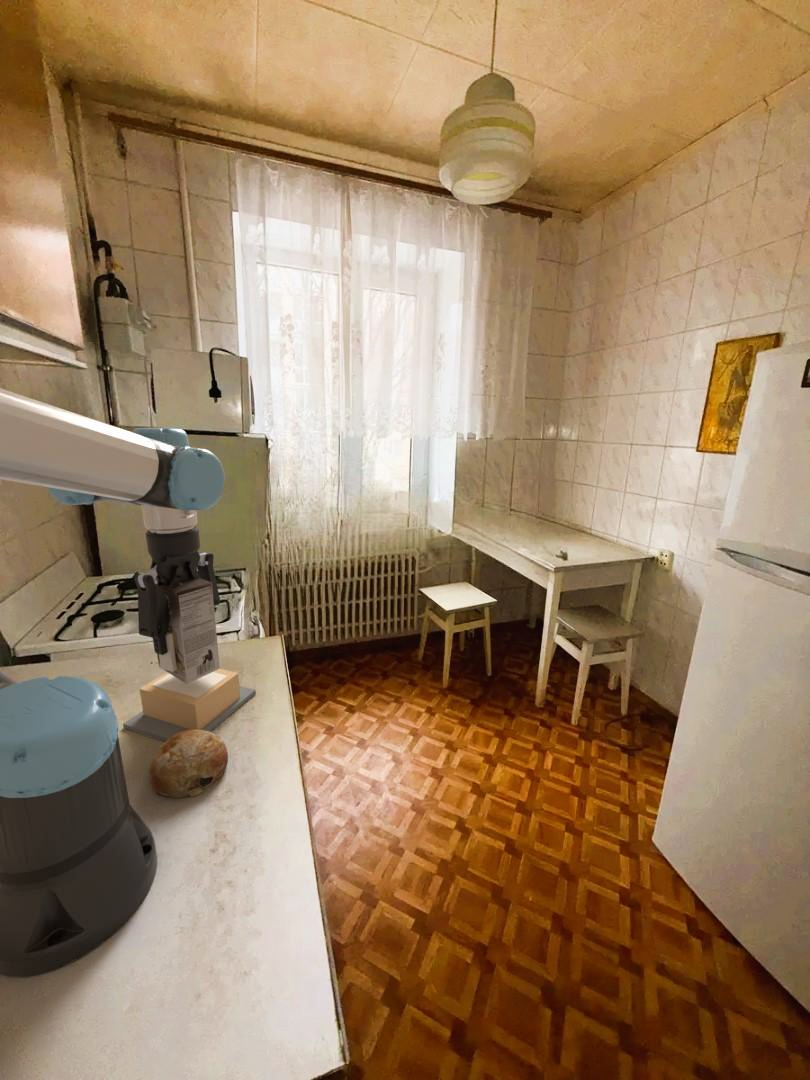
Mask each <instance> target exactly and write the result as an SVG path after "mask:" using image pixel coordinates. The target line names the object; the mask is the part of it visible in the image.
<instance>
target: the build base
mask: <svg viewBox="0 0 810 1080" xmlns="http://www.w3.org/2000/svg"><path fill="white" fill-rule="evenodd" d="M256 694H257V692H256V689H254V688H251V687H247V686H242V685H240V678H239V672H236V671H235V672H234V671H232V670H231V671H230V670H227V669H223V668H219V669H218V670H216V671H214V672H212V673H209V674H207V675H205V676H203V677H201V678H199V679H197V680H195V681H193V682H190V683H188V684H186V683H184V682H182V681H181V680H179V679H178V678H176V677H174V676H173V675H171V674H170V673H168V672H164V674H162V675H160V676H158V677H157V678H155V679H153V680H151V681H150V682H148V683H147V684H145V685H143V686H141V687H140V688H139V695H140V700H141V706H142V707H141V708H142V711H140V712H139V713H137V714H135V715H134V716H133V717H131V718H130V719H128V720H126V721H125V722H123V723H122V725H123V729H126V730H128V731H131V732H134V733H138V734H141V735H143V736H147V737H150V738H151V739H152V738H153V739H155V740H158V741H162V742H163V743H164V742H166V741H167V740H168V739H169V738H170V737H172V736H173V735H175V734H177V733H180V732H182V731H185V730H194V729H198V730H204V731H209V732H212V731H213V730H214V729H215V728H217V727H218V726H219V725H220V724H222V723H223V722H224V721H225V720H226V719H227V718H228V717H230V716H231V715H232V714H233V713H235V712H236V711H237V710H238V709H239V708H241V707H242V706H243V705H244V704H245V703H246V702H248V701H249V700H250V699H251V698H253V697H254V696H255V695H256Z"/></svg>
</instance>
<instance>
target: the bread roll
mask: <svg viewBox="0 0 810 1080" xmlns="http://www.w3.org/2000/svg"><path fill="white" fill-rule="evenodd" d="M228 753H229V752H228V749H227V746H226V743H225V742H224V740H223V739H222V738H221V737H220V736H219V735H217V734H216V733H214V732H212V731H211V732H209V731H204V730H198V729H194V730H185V731H182V732H180V733H177V734H175V735H173V736H172V737H170V738H169V739H168V740H167V741H166V742H164V741H163V742H162V743H161V745H160V747H159V750H157V752H156V753H155V755H154V757H153V758H152V760H151V763H150V767H149V770H148V773H149V776H150V784H151V786H152V789H153V790H154V791H155V793H158V794H160V795H161V796H163V797H164V796H165V797H170V798H184V797H186V796H187V797H188V796H189V797H196V796H198V795H200V794H201V793H203V792H204V790H205V789H206V788H208V787H210V786H211V785H212V784H214V782H215V781H216V780H217V779H219V778H221V776H223V774H224V773H225V771H226V769H227V766H228V763H229V754H228Z"/></svg>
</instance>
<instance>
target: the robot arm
mask: <svg viewBox="0 0 810 1080" xmlns="http://www.w3.org/2000/svg"><path fill="white" fill-rule="evenodd" d="M0 480H2V481H10V482H15V483H21V484H27V485H32V486H33V485H34V486H38V487H39V486H40V487H43V488H44V487H45V489H46V490H47V492H48V493H49V495H50V496H51V497H52V498H53V499H54V500H55V501H57V502H58V503H60V504H61V505H65V506H77V505H86V506H90V505H92V504H95V503H103V502H104V503H105V502H106V503H116V504H117V503H119V504H127V505H134V506H135V505H136V506H141V511H142V517H143V518H142V519H143V527H144V528H145V529H147V531H146V532H145V538H146V539H145V540H146V548H147V552H148V555H150V557H151V564H150V569H148V570H147V571H145V572H144V573H138V572H137V573H136V574H135V575H134V576H133V579H134V582H135V586H136V588H137V611H138V612H137V615H138V619H137V620H138V635H140V636H144V637H148V638H152V642H153V649H154V653H155V654H159V660H160V667H161V668H160V667H159V668H160V670H161V669H162V670H163V669H164V670H163V671H165V670H168V671H172V672H174V671H175V670H177V666H176V658H175V650H174V643H173V635H172V633H169V632H167V631H168V626H169V621H170V614H169V606H168V599H167V597H166V596H165V595H164V594H163V592H162V591H161V589H160V588H159V586H160V585H161V584H165V585H169V586H170V587H169V588H174V587H176V586H178V585H179V583H181V582H184V581H187V580H190V579H194V580H195V579H198V578H201V579H204V580H206V581H209V582H212V590H213V601H214V611H215V613H216V612H217V611H218V609H217V607H216V606H219V605H221V597H220V592H219V588H218V584H217V577H216V575H215V569H214V553H213V554H212V553H210V552H209V553H208V552H202V551H200V552H199V550H200V549H201V539H200V538H201V537H200V530H199V528H198V526H196V525H197V524H198V513H197V511H206V510H209V509H211V508H212V507H214V506H215V505H217V503H218V502H219V501H220V499H221V498H222V496H223V493H224V490H225V482H226V475H225V470H224V466H223V464H222V462H221V461H220V459H219V458H218V457H217V456H216V455H215V454H214V453H213V452H211V451H210V450H208V449H205V448H198V447H195V446H194V447H193V446H191V445H190V441H189V437H188V434H187V432H186V431H185V430H184V429H181V428H174V427H170V428H169V427H136V428H134V429H132V431H129V430H127V429H123V428H121V427H117V426H115V425H112V424H109V423H106V422H102V421H100V420H96V419H93V418H91V417H87V416H85V415H82V414H78V413H76V412H72V411H70V410H66V409H63V408H60V407H57V406H55V405H52V404H49V403H46V402H43V401H40V400H36V399H34V398H31V397H28V396H25V395H21V394H19V393H16V392H13V391H10V390H8V389H7V390H6V389H4V388H2V387H0ZM156 578H157V580H156ZM155 584H156V585H155ZM159 627H160V628H159ZM120 744H121V743H120V738H119V721H118V719H117V715H116V713H115V710H114V708H113V706H112V702H111V699H110V697H109V695H108V693H107V691H106V690H105V689H104V688H103V687H102V686H100V685H99V684H97V683H96V682H94V681H92V680H89V679H86V678H83V677H78V676H73V675H72V676H71V675H59V676H56V677H55V678H52V679H50V678H49V677H48V676H42V677H38V678H30V679H28V680H23V681H20V682H19V681H17V680H16V679H13V678H12V677H10V676H9V675H8V674H6V673H5V672H4V671H3V670H1V669H0V974H1V975H4V976H8V977H20V978H22V977H31V976H32V977H33V976H36V975H42V974H45V973H47V972H51V971H54V970H57V969H59V968H62V967H64V966H66V965H69V964H70V963H73V962H74V961H76V960H78V959H80V958H82V957H83V956H86V955H87V954H89V952H91V951H93V950H95V949H96V948H97V947H99V946H100V945H101V944H103V943H104V942H105V941H107V940H108V939H109V938H110V937H112V935H114V934H115V933H116V932H117V931H118V930H119V929H120V928H122V926H123V925H124V924H125V923H126V922H127V921H128V920H129V919H130V918H131V917H132V916H133V914H134V913H135V912H136V911H137V910H138V908H139V907H140V906H141V904H142V903H143V901H144V900H145V898H146V896H147V894H148V893H149V891H150V889H151V887H152V884H153V882H154V879H155V876H156V873H157V868H158V854H157V846H156V842H155V838H154V835H153V832H152V831H151V829H150V828H149V826H148V825H147V824H146V823H145V821H144V820H143V819H142V818H141V816H140V815H139V814H138V812H137V811H136V810H135V809H134V808H133V806H132V805H131V804H130V799H129V794H128V788H127V782H126V776H125V775H126V773H125V769H124V764H123V758H122V751H121V745H120Z"/></svg>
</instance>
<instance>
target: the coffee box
mask: <svg viewBox="0 0 810 1080" xmlns="http://www.w3.org/2000/svg"><path fill="white" fill-rule="evenodd" d="M156 580H157V577H156ZM155 585H156V584H155ZM169 587H170V586H169V585H165V584H161V585H160V586H159V588H160V589H161V591H162V592H163V594H164V595H165V596H166V597H167V599H168V606H169V614H170V621H169V626H168V631H167V632H169V633H172V635H173V643H174V650H175V658H176V666H177V670H175V671H174V672H172V671H168V670H164V669H162V670H163V671H165V673H167V672H168V673H170V674H171V675H173V676H174V677H176V678H178V679H179V680H181V681H182V682H184V683H186V684H188V683H190V682H193V681H195V680H197V679H199V678H201V677H203V676H205V675H207V674H209V673H212V672H214V671H216V670H218V669H221V667H220V658H219V648H218V647H219V646H218V645H219V644H218V637H217V636H218V635H217V626H216V614H215V613H216V612H215V611H214V607H215V606H214V601H213V590H212V582H209V581H206V580H204V579H201V578H198V579H195V580H194V579H190V580H187V581H184V582H181V583H179V585H178V586H176V587H174V588H169ZM159 628H160V627H159ZM157 662H158V667H159V668H160V669H161V667H160V660H159V654H157Z"/></svg>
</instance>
